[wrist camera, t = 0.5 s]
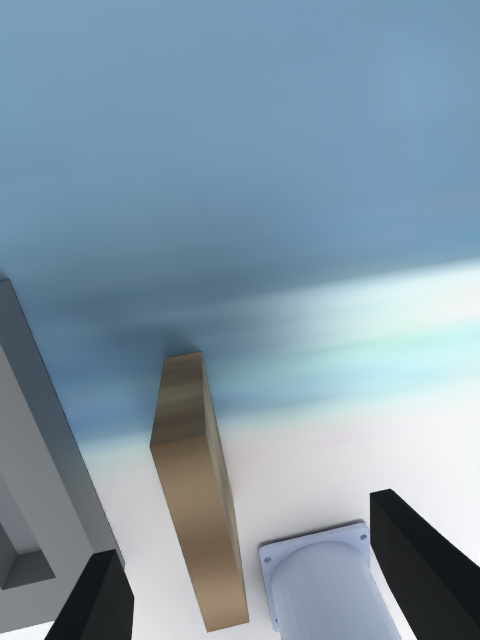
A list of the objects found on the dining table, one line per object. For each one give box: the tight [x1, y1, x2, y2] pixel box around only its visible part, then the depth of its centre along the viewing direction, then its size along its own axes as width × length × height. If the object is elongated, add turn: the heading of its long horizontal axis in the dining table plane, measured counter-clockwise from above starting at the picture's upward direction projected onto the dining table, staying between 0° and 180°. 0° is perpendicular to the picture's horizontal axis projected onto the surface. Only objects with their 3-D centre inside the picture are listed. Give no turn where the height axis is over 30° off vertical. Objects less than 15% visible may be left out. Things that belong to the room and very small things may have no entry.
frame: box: [150, 351, 249, 633], centre depth 17 cm, size 11×2×7 cm, turn 9°
